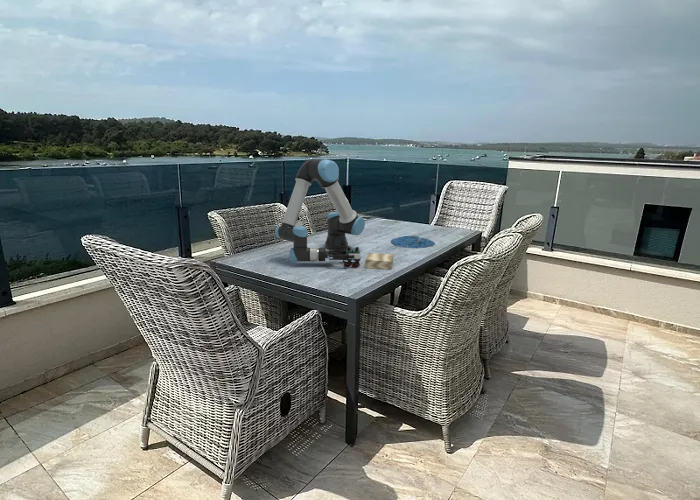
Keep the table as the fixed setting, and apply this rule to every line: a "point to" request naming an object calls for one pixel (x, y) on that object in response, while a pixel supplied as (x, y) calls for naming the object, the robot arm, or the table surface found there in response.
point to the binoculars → (354, 264)
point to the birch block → (379, 261)
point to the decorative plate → (412, 242)
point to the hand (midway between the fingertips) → (359, 254)
